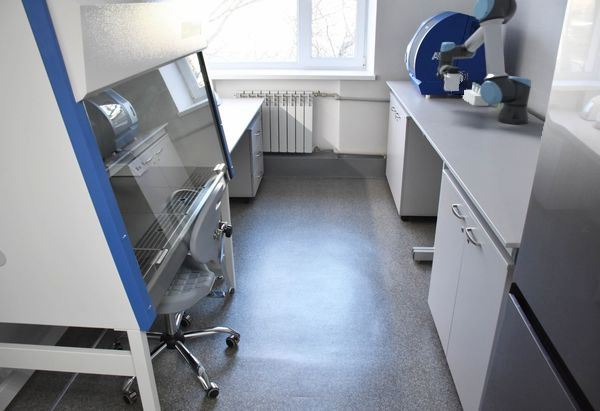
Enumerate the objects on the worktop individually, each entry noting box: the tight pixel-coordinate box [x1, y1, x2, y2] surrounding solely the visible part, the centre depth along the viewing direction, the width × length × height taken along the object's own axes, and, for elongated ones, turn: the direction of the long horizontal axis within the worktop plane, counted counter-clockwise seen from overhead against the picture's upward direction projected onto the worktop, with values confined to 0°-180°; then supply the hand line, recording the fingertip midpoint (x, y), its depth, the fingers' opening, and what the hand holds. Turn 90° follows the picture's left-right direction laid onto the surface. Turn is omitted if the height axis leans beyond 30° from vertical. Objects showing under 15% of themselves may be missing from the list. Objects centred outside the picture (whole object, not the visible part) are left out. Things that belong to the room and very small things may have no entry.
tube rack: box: [462, 82, 490, 107], centre depth 307 cm, size 22×9×11 cm, turn 1°
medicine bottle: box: [443, 66, 461, 92], centre depth 260 cm, size 7×7×12 cm
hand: (453, 78), depth 256 cm, fingers closed on medicine bottle, 7 cm apart
